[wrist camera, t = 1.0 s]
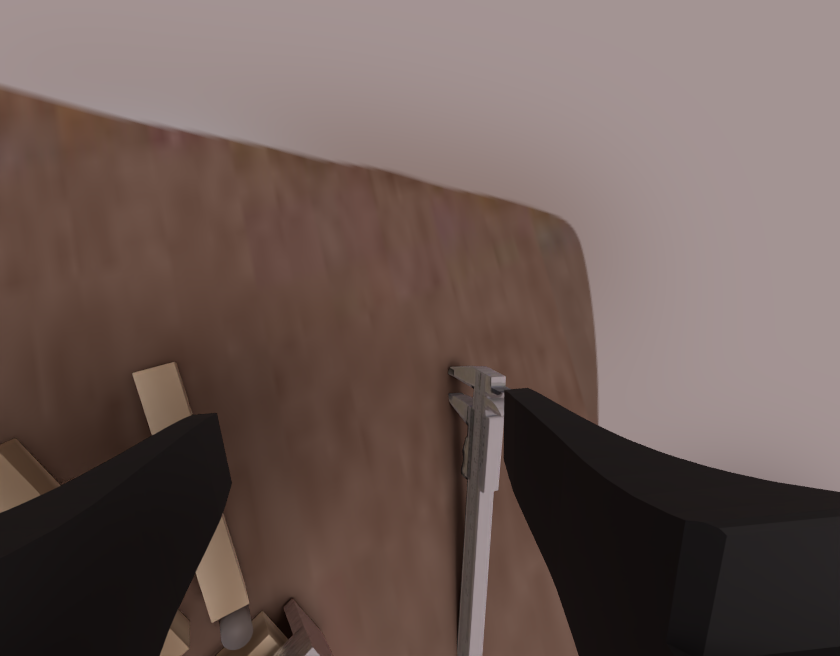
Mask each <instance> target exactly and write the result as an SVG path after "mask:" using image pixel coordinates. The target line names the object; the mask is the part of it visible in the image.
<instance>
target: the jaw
mask: <svg viewBox="0 0 840 656" xmlns="http://www.w3.org/2000/svg"><path fill="white" fill-rule="evenodd" d="M132 374H133V377H134V381H135V384H136V387H137V390H138V393H139V396H140V399H141V403H142V406H143V409H144V412H145V415H146V418H147V421H148V425H149V428H150V431H151V434H152V435H154V434H156V433H157V432H159V431H161V430H163V429H164V428H166V427H168V426H170V425H172V424H174V423H175V422H177V421H179V420H181V419H183V418H186V417H188V416H191V415H192V411H191V408H190V405H189V402H188V399H187V395H186V392H185V389H184V386H183V383H182V379H181V376H180V373H179V370H178V367H177V363H176V362H172V363H168V364H164V365H161V366H157V367H153V368H150V369H146V370H142V371H139V372H135V373H132ZM196 575H197V578H198V582H199V585H200V588H201V591H202V594H203V597H204V600H205V603H206V607H207V610H208V613H209V616H210V619H211V622H212V623H213V622H215V621H217V620H218V619H219V622H220V633H221V642H222V644H223V646H224V647H225V648H226V649H229V650H237V649H240V648H242V647H244V646H245V645H246V644H247V643H248V642H249V641H250V639H251V637H252V634H253V625H252V621H251V616H250V611H249V607H248V604H249V599H248V595H247V590H246V586H245V581H244V578H243V575H242V572H241V568H240V565H239V562H238V559H237V556H236V552H235V549H234V546H233V543H232V540H231V536H230V533H229V530H228V527H227V524H226V520H225V517H224V514H222V517H221V520H220V522H219V524H218V526H217V529H216V531H215V533H214V535H213V537H212V539H211V541H210V543H209V546H208V548H207V550H206V552H205V554H204V556H203V558H202V560H201V562H200V564H199V566H198V568H197V571H196Z"/></svg>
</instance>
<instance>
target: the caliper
mask: <svg viewBox="0 0 840 656" xmlns="http://www.w3.org/2000/svg"><path fill="white" fill-rule="evenodd" d="M448 374H449V375H451V376H453V377H455V378H457V379H458V380H460V381H462V382H463V383H465V384H467V385H468V386H470V387H472V388H473V389H474V393H473V398H472V397H470V396H468V395H464V394H463V393H449V402H450V404H451V405H452V406H453V407H454V409H455V410H456V411H457V412H458V414H459V415H460V416H461V418H462V419H463V420H464V421H465V423H466V424H467V425H468V433H467V437H466V439H465V442H464V446H463V463H462V467H461V474H462V475H463V476H464V477H465V478H466V479H467V497H466V513H465V529H464V545H463V561H462V576H461V591H460V606H459V621H458V635H457V653H458V656H482V651H483V637H484V624H485V610H486V595H487V581H488V567H489V552H490V538H491V523H492V509H493V494H494V491H497V490H498V486H499V473H500V461H501V449H502V436H503V424H504V418H503V416H504V398H503V397H504V390H510V388H507V387H505V381H506V376H504V375H502V374H500V373H498V372H496V371H494V370H492V369H490V368H488V367H486V366H457V367H450V369H449V372H448Z"/></svg>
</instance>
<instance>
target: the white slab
mask: <svg viewBox="0 0 840 656" xmlns="http://www.w3.org/2000/svg"><path fill="white" fill-rule="evenodd" d="M283 608H284V610H285V613H286V616H287V619H288V622H289V624H290V627H291V630H292V633H293V636H292V637H291V638H290V639H289V640H288V641H287V642H286V643H285V644H284V645H283V646H282V647H281V648H280V649H279V650H278V651H277V652H276V653H275V654H274V655H273V656H333V654H332V651H331V649H330V647H329V645H328V643H327V641H326V639H325V637H324V634H323V633H322V631H321V630H320V629H319V628H318V627H317V626H316V625H315V623H314V622H313V621H312V620H311V619H310V618H309V616H308V615H307V614H306V613H305V612H304V611H303V610H302V608H301V607H300V606H299V605H298V604H297V603H296V602H295V600H294V599H293V598H292V599H291V600H290V601H289V602H288V603H287V604H286V605H285V606H284V607H283Z"/></svg>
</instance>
